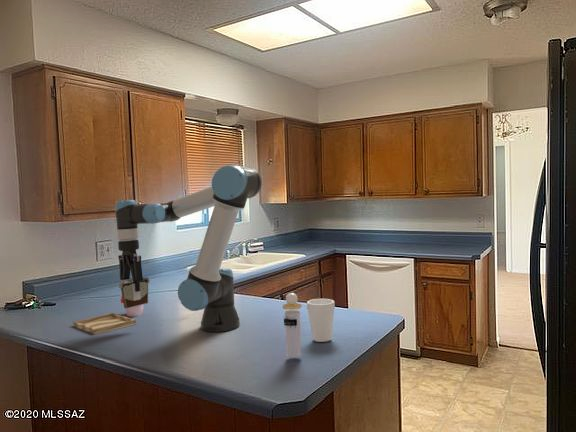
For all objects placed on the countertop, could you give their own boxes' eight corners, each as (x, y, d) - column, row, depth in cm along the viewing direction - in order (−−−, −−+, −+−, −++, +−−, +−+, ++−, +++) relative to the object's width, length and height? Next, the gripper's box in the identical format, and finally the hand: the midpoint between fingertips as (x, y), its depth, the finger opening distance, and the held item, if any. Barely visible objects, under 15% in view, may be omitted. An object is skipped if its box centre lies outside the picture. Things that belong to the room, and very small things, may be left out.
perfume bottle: (288, 353, 142) (286, 290, 141) (306, 354, 140) (303, 291, 139) (282, 359, 136) (279, 294, 136) (299, 361, 134) (297, 295, 134)
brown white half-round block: (142, 301, 181) (140, 276, 181) (151, 302, 177) (149, 277, 177) (114, 308, 172) (112, 282, 172) (122, 309, 168) (120, 283, 168)
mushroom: (151, 314, 201) (150, 287, 200) (128, 319, 193) (127, 292, 192) (139, 310, 208) (138, 285, 208) (116, 316, 200) (115, 289, 200)
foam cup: (316, 344, 149) (314, 306, 149) (303, 337, 158) (302, 300, 157) (340, 340, 153) (339, 302, 152) (327, 333, 161) (326, 297, 161)
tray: (135, 324, 185) (135, 319, 185) (95, 334, 172) (94, 329, 172) (113, 317, 198) (112, 313, 198) (73, 326, 186) (73, 321, 186)
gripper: (149, 239, 170) (154, 299, 171) (125, 238, 183) (129, 294, 184) (131, 241, 165) (136, 303, 165) (107, 240, 178) (111, 298, 178)
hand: (132, 298), depth 175 cm, fingers closed on brown white half-round block, 6 cm apart
